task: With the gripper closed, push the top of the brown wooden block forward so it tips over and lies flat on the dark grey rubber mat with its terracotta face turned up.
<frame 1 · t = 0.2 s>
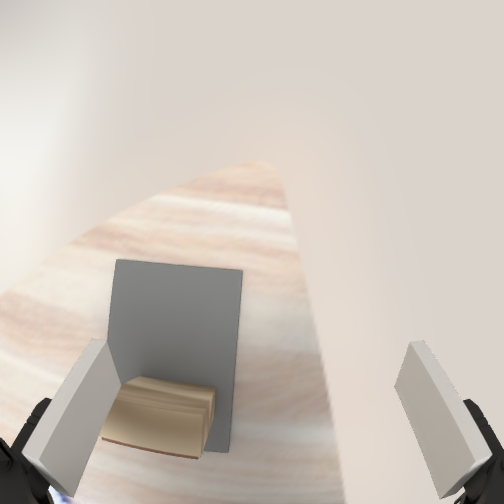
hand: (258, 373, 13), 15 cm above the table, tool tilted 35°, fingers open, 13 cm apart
mat: (168, 358, 27), on the table
brown wooden block: (175, 397, 25), point 1 cm above the table, touching mat
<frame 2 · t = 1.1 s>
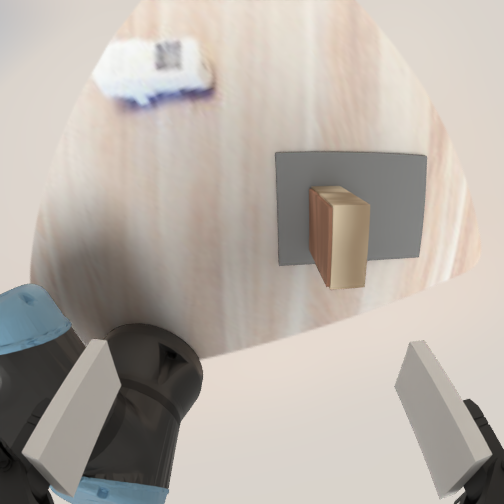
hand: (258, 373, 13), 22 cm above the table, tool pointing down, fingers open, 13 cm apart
mat: (355, 207, 33), on the table
brown wooden block: (325, 219, 33), point 1 cm above the table, touching mat
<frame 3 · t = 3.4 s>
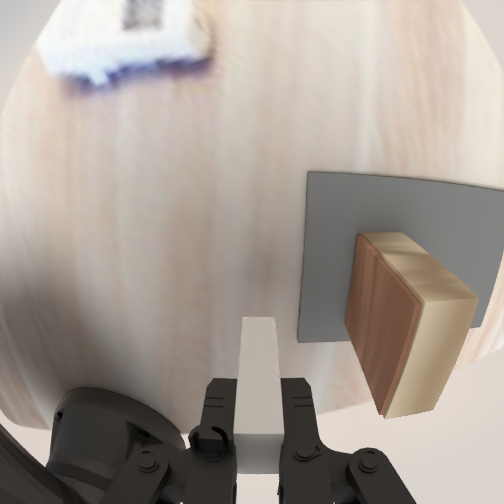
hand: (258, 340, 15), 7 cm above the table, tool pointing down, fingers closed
mat: (417, 263, 21), on the table
brown wooden block: (374, 280, 20), point 1 cm above the table, touching mat
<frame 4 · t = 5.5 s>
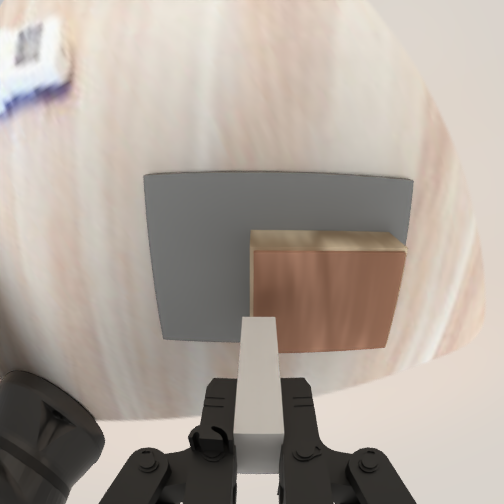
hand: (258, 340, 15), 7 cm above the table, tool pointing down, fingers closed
mat: (280, 263, 21), on the table
brown wooden block: (250, 292, 19), point 2 cm above the table, tilted 90°, touching mat
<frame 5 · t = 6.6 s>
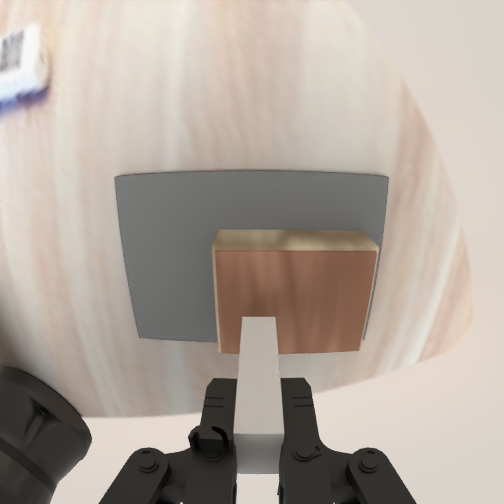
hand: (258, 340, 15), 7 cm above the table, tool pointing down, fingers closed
mat: (250, 263, 21), on the table
brown wooden block: (218, 292, 19), point 2 cm above the table, tilted 90°, touching mat
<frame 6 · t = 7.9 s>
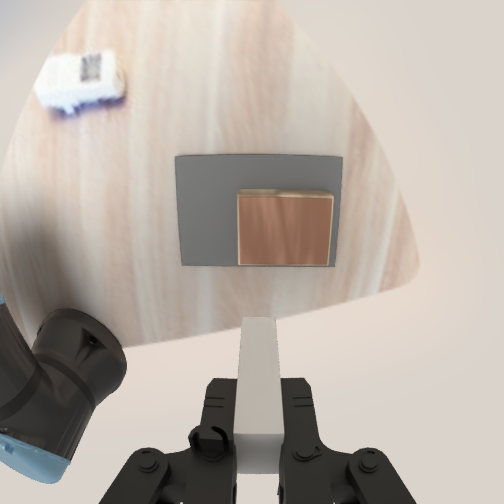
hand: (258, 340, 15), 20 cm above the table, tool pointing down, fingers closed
mat: (258, 211, 33), on the table
brown wooden block: (238, 226, 32), point 2 cm above the table, tilted 90°, touching mat
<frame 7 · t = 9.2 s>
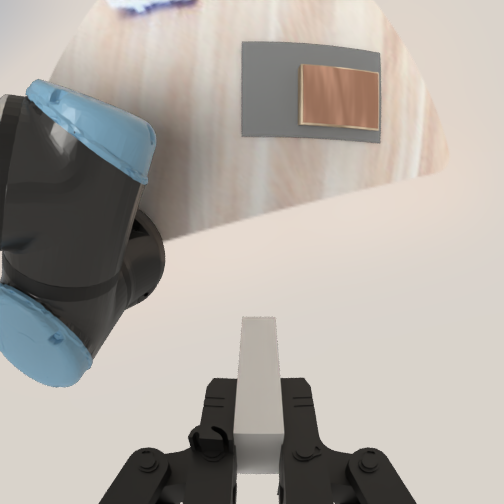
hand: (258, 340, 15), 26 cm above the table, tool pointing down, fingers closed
mat: (313, 90, 34), on the table
brown wooden block: (299, 95, 32), point 2 cm above the table, tilted 90°, touching mat
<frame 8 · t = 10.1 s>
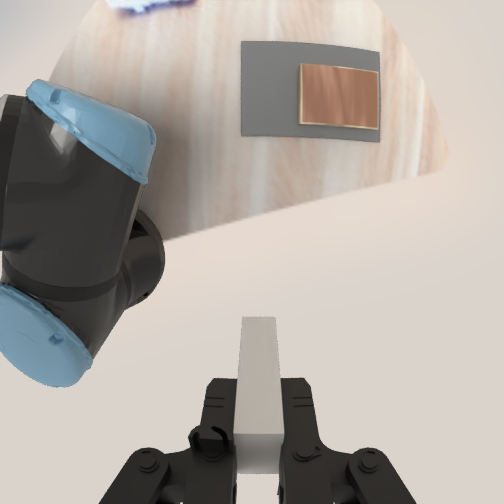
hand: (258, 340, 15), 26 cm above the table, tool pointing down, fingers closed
mat: (312, 89, 34), on the table
brown wooden block: (298, 94, 32), point 2 cm above the table, tilted 90°, touching mat
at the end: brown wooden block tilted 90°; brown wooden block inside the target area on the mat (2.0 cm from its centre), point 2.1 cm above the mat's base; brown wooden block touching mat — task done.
